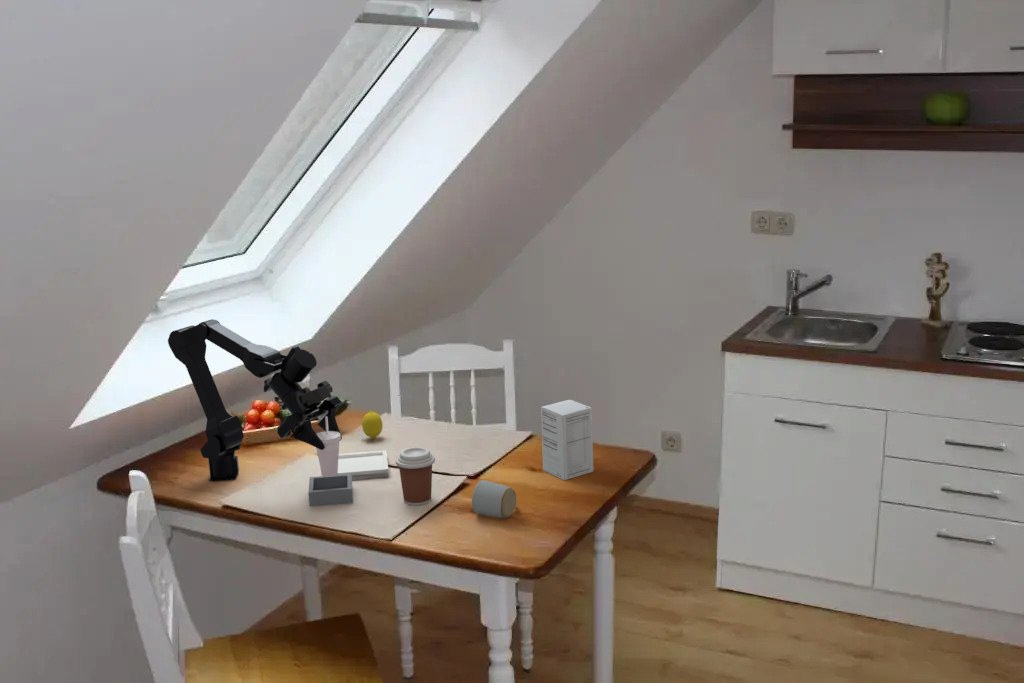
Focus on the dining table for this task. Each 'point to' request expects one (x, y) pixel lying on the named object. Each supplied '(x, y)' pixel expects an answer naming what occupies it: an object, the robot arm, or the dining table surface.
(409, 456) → the coffee cup
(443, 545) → the dining table surface
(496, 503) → the grey cylinder
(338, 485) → the holder
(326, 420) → the smoothie
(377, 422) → the lemon
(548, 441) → the supplement box
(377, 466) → the tray
